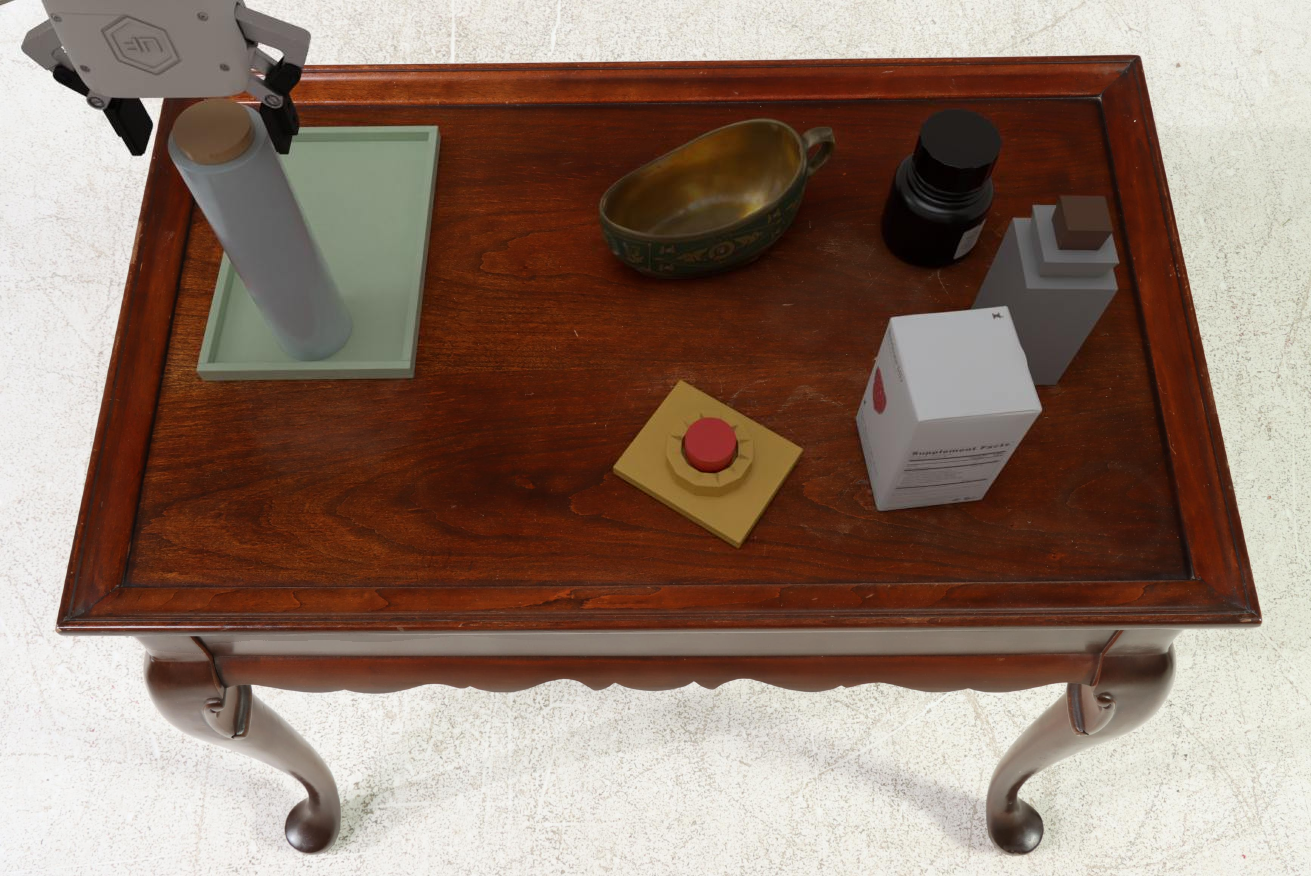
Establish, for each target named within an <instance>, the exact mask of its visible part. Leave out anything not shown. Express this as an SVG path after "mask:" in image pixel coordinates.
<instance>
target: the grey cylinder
mask: <svg viewBox="0 0 1311 876" xmlns="http://www.w3.org/2000/svg"><path fill="white" fill-rule="evenodd" d="M167 150H168V154H169V156H170V158H171V160H172V162H173V164H174V165H175V168H176V169H177V170H178V173H179V174H180V176H181V177H182V180H183V181H184V183H185V185H186V186H187V188H188V190H189V192H190V194H191V195H192V197H193V198H194V200H195V202H196V204H197V206H198V207H199V209H200V210H201V213H202V214H203V216H204V218H205V219H206V222H207V224H209V227H210V228H211V230H212V231H213V234H214V235H215V237H216V238H217V240H218V243H219V244H220V246H221V247H222V249H223V252H224V251H225V253H226V254H227V256H228V258H229V260H230V261H231V263H232V265H233V267H234V268H235V270H236V272H237V274H238V275H239V277H240V279H241V281H242V282H243V284H244V286H245V288H246V289H247V291H248V293H249V295H250V296H251V298H252V300H253V302H254V303H255V305H256V307H257V309H258V310H259V312H260V314H261V316H262V317H263V319H264V321H265V322H266V324H267V326H268V328H269V329H270V331H271V333H272V335H273V336H274V338H275V340H276V342H277V343H278V345H279V347H280V348H281V350H282V351H283V352H284V353H285V354H287V355H288V356H290V357H292V358H294V359H297V360H302V361H315V360H320V359H324V358H327V357H329V356H331V355H333V354H334V353H336V352H337V351H339V350H340V349H341V348H342V347H343V346H344V345H345V344H346V342H347V341H348V339H349V337H350V335H351V332H352V319H351V316H350V313H349V311H348V309H347V306H346V304H345V302H344V300H343V297H342V295H341V293H340V291H339V288H338V286H337V284H336V282H335V279H334V277H333V275H332V273H331V270H330V268H329V266H328V264H327V261H326V259H325V257H324V254H323V252H322V250H321V248H320V245H319V243H318V241H317V239H316V236H315V234H314V232H313V230H312V227H311V225H310V223H309V221H308V218H307V216H306V214H305V211H304V209H303V207H302V205H301V202H300V200H299V198H298V196H297V193H296V191H295V189H294V187H293V184H292V182H291V180H290V178H289V175H288V173H287V171H286V169H285V166H284V164H283V162H282V159H281V157H280V155H279V153H277V152H276V150H275V148H274V146H273V143H272V141H271V139H270V136H269V134H268V132H267V129H266V127H265V125H264V122H263V120H262V118H261V116H260V112H259V111H257V110H256V109H254V108H252V107H250V106H248V105H245V104H242V103H240V102H238V101H236V100H233V99H229V98H223V97H215V98H211V99H210V98H208V99H204V100H201V101H199V102H196V103H194V104H192V105H190V106H189V107H187V108H186V109H184V110H183V111H182V112H181V113H180V114H179V115H178V116H177V118H176V119H175V121H174V123H173V126H172V130H171V131H170V134H169V136H168V140H167Z"/></svg>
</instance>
